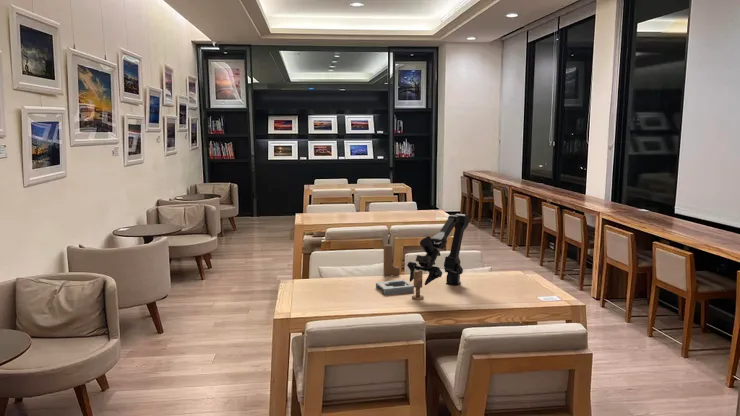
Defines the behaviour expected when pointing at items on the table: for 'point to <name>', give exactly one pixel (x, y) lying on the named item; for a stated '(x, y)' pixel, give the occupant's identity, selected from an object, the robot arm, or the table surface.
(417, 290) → the headed peg
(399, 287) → the keyhole plate
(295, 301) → the table surface
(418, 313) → the table surface
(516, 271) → the table surface
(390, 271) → the wooden block
